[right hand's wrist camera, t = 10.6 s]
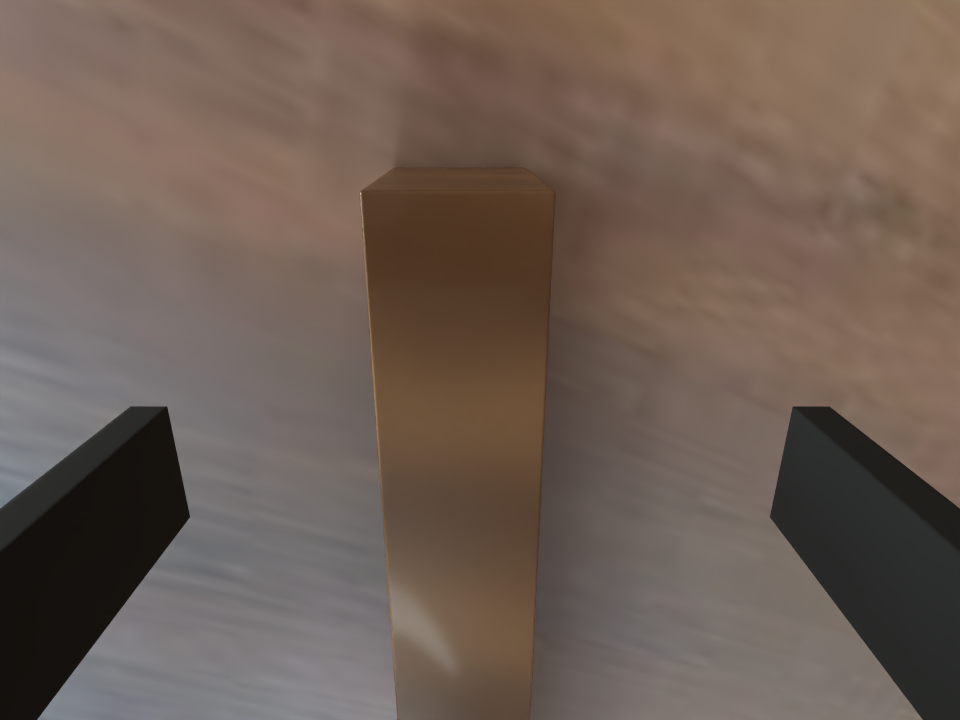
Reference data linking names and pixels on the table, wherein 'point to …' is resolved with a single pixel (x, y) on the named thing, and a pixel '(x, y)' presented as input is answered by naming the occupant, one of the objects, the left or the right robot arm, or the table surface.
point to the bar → (460, 427)
